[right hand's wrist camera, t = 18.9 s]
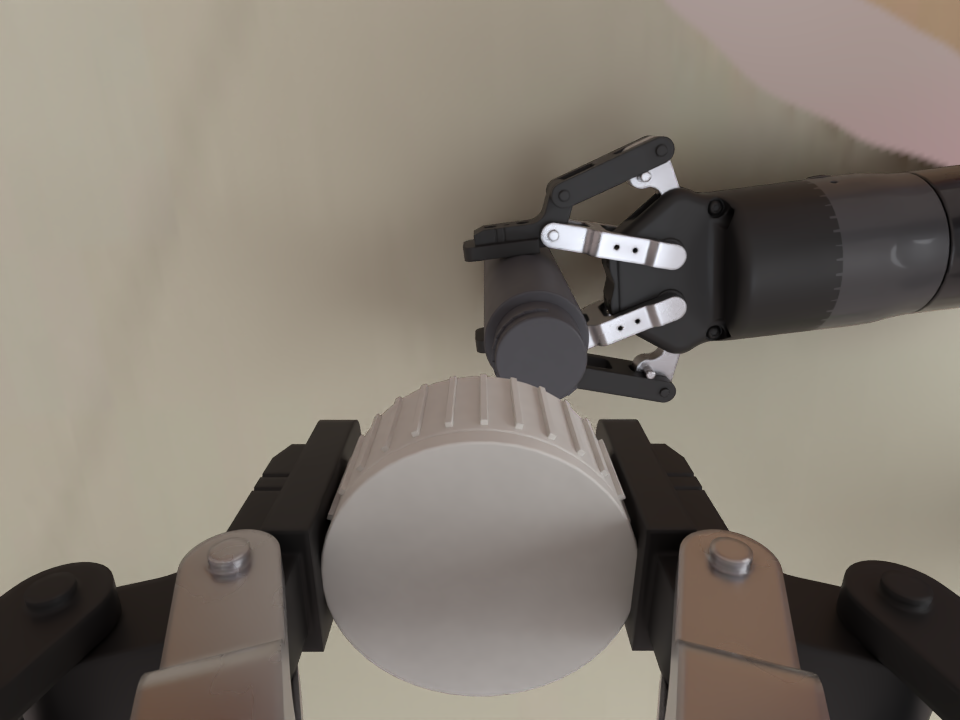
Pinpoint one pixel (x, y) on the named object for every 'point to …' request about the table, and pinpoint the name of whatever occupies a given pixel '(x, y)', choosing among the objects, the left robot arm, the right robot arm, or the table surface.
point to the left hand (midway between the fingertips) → (472, 297)
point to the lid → (479, 540)
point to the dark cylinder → (533, 323)
